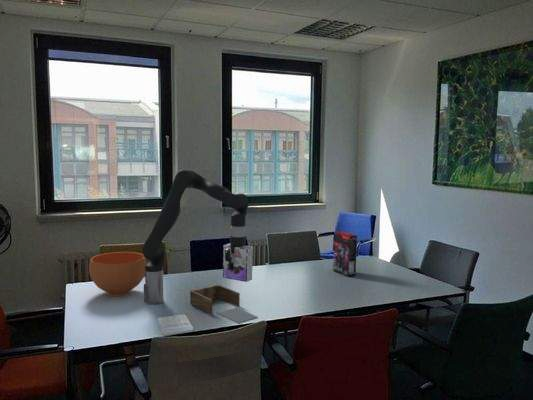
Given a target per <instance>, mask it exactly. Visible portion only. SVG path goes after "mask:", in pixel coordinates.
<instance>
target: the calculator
mask: <svg viewBox="0 0 533 400" xmlns="http://www.w3.org/2000/svg"><path fill="white" fill-rule="evenodd" d="M157 322H158V325H159V327H160V329H161V331H162V334H163V336H172V335H178V334H185V333H193V332H194V327H193V325H192V324H191V322H190V321H189V319H188V317H187V316H186V314H175V315H170V316H169V315H168V316H166V315H165V316H160V317H158V318H157Z"/></svg>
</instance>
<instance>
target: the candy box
mask: <svg viewBox="0 0 533 400" xmlns="http://www.w3.org/2000/svg"><path fill="white" fill-rule="evenodd" d="M230 248H231V245H230V242H229V243H226V244H223V246H222V279H223V278H224V279H228V280H234V281H238V282H239V281H240V282H245V283H247V282H249V281H252V280H253V262H254V261H253V255H254V254H253V252H254V246H251V245H250V246H249V245H245V246H237V247H235V252H234V254H235V253H236V258H235V259H234V261H233V270H230V269H229V262H228V261H225V249H230ZM234 254H233V252H231V253H230V256H231V255H232V256H234ZM231 259H232V257H231Z"/></svg>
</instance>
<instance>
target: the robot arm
mask: <svg viewBox="0 0 533 400" xmlns="http://www.w3.org/2000/svg"><path fill="white" fill-rule="evenodd" d="M186 189H196V190H198V191H200V192H204V193H205V194H206V195H208V196H209V197H210V198H212V199H215V200H217V201H218V202H221V203H223V204H224V205H226V206H227V207H229V208H230V209H233V210H234V212H233V213H232V214H231V215H230V229H229V231H230V232H229V233H230V234H229V243H230V245H231V248H230V249H225V261H228V262H229V269H230V270H233V261H234V259H235V258H236V253H235V254H234V252H235V247H237V246H246V243H247V242H246V241H247V238H246V236H247V235H246V234H247V233H246V232H247V229H246V216H247V212H248V208H249V199H248V196H247V195H246V194H245V193H233V192H231V190H230V189H229V188H227V187H225V186H222V185H220V184H217V183H215V182H212V181H210V180H208V179H206V178H205V177H203V176H202V175H200V174H198V172H196V171H193V170H190V169H180V170H179V171H178V172H176V174H175V176H174V179H173V181H172V185H171V187H170V190H169V192H168V195H167V196H166V199H165V201H164V204H163V206H162V208H161V210H160V212H159V214H158V217H157V219H156V221H155V223H154V225H153V226H152V227H153V228H152V230H151V232H150V234H149V235H148V237H147V239H146V241H144V243H143V245H142V249H141V251H142V252H141V254H143V256H144V257H145V258H146V260H147V259H148V260H147V261H146V263H147V264H146V265H145V276H144V279H145V281H144V284H143V302H144V303H146V304H148V305H156V304H157V305H158V304H162V303H163V302H164V265H165V256H166V254H165V253H166V251H165V250H166V249H165V244H164V242H163V240H164V238H165V237H166V235H167V234H168V233H169V232H170V231H171V229H172V228H173V227H174V226H175V224H176V222H177V220H178V218H179V216H180V213H181V200H182V196H183V194H184V193H185V190H186ZM231 252H233V254H234V256H232V255H231V256H230V253H231ZM231 257H232V259H231Z"/></svg>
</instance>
